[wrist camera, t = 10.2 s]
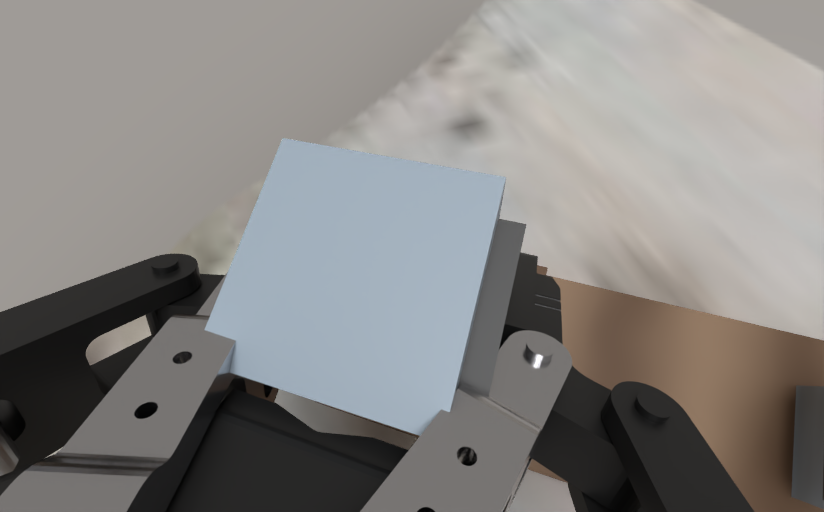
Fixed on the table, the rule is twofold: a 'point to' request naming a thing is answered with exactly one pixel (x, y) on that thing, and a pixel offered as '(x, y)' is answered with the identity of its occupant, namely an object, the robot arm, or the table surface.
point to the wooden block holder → (711, 385)
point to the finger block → (370, 283)
